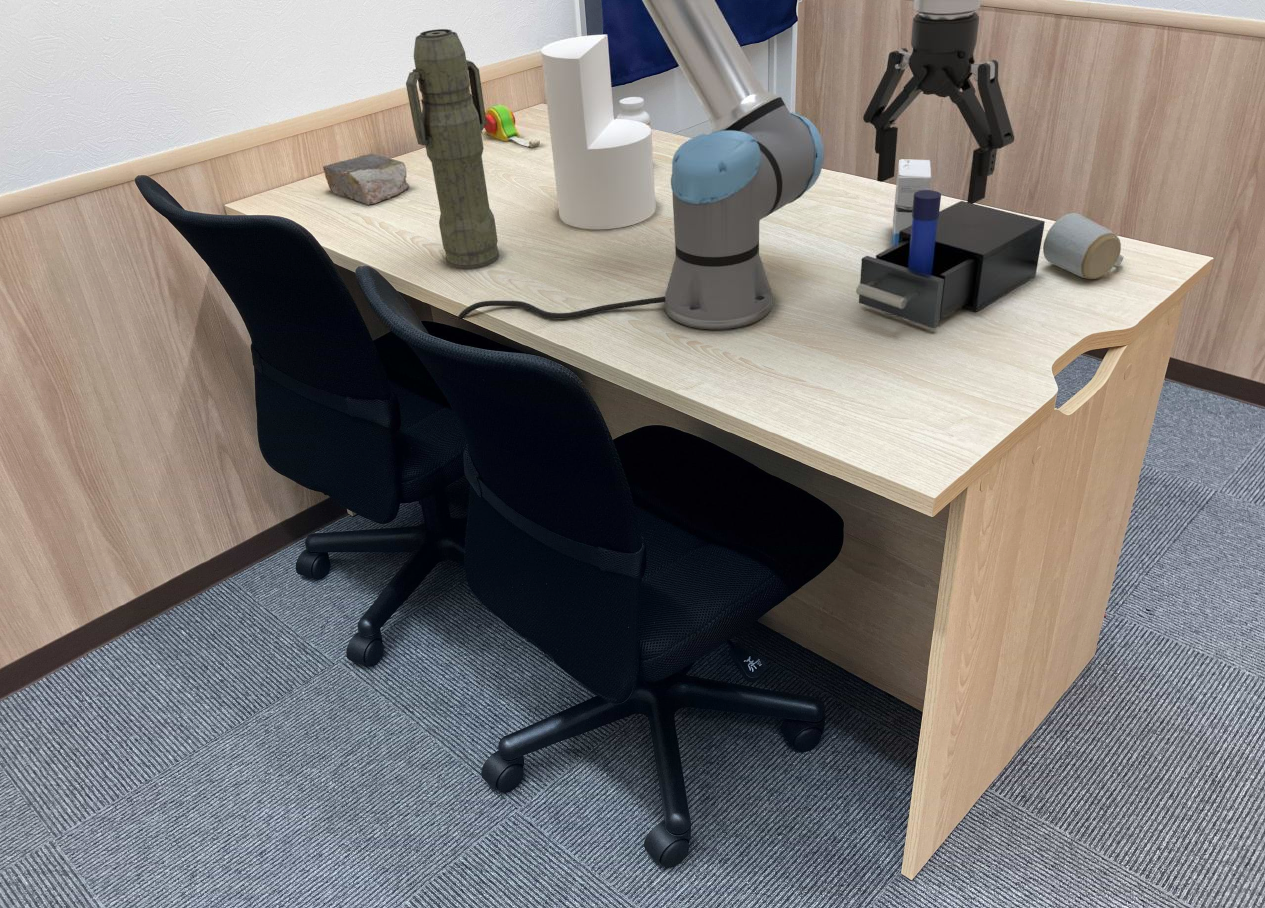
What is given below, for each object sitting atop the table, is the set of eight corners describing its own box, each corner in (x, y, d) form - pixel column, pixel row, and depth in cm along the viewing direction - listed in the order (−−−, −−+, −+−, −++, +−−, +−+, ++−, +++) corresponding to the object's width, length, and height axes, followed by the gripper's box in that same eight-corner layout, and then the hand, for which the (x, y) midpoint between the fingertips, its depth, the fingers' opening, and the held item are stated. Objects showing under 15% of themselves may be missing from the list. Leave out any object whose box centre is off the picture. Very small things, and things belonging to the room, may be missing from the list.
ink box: (925, 250, 154) (932, 176, 148) (892, 250, 155) (898, 176, 149) (923, 230, 161) (930, 157, 155) (891, 229, 162) (897, 158, 156)
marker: (920, 304, 135) (931, 200, 127) (899, 297, 137) (908, 195, 129) (934, 295, 137) (946, 193, 129) (914, 289, 139) (924, 188, 131)
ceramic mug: (1080, 287, 140) (1091, 235, 136) (1037, 267, 147) (1047, 217, 142) (1135, 271, 144) (1148, 220, 140) (1091, 252, 150) (1102, 203, 146)
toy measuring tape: (498, 128, 227) (494, 98, 223) (548, 143, 214) (544, 112, 211) (474, 134, 224) (469, 104, 220) (524, 151, 211) (520, 119, 207)
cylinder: (546, 228, 173) (526, 59, 158) (574, 193, 187) (558, 35, 171) (643, 230, 169) (632, 57, 154) (664, 195, 183) (656, 33, 167)
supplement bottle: (615, 164, 199) (610, 98, 192) (646, 159, 201) (642, 93, 193) (624, 174, 194) (620, 106, 187) (657, 168, 195) (653, 101, 188)
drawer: (914, 340, 129) (919, 293, 125) (839, 313, 137) (841, 267, 133) (993, 293, 139) (1000, 247, 135) (919, 270, 147) (923, 226, 143)
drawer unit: (976, 312, 136) (984, 255, 132) (894, 286, 145) (899, 231, 140) (1035, 276, 144) (1045, 221, 140) (954, 253, 153) (961, 200, 148)
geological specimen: (367, 151, 201) (410, 160, 192) (373, 181, 204) (416, 191, 195) (320, 164, 195) (362, 174, 185) (328, 195, 198) (369, 206, 188)
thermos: (517, 252, 165) (486, 26, 145) (463, 276, 158) (422, 43, 138) (482, 241, 170) (448, 22, 151) (428, 264, 163) (384, 37, 144)
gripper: (1063, 16, 111) (1033, 201, 123) (878, -2, 127) (868, 163, 139) (1027, 29, 107) (1000, 219, 119) (841, 9, 123) (834, 177, 135)
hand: (929, 189), depth 129 cm, fingers open, 13 cm apart
